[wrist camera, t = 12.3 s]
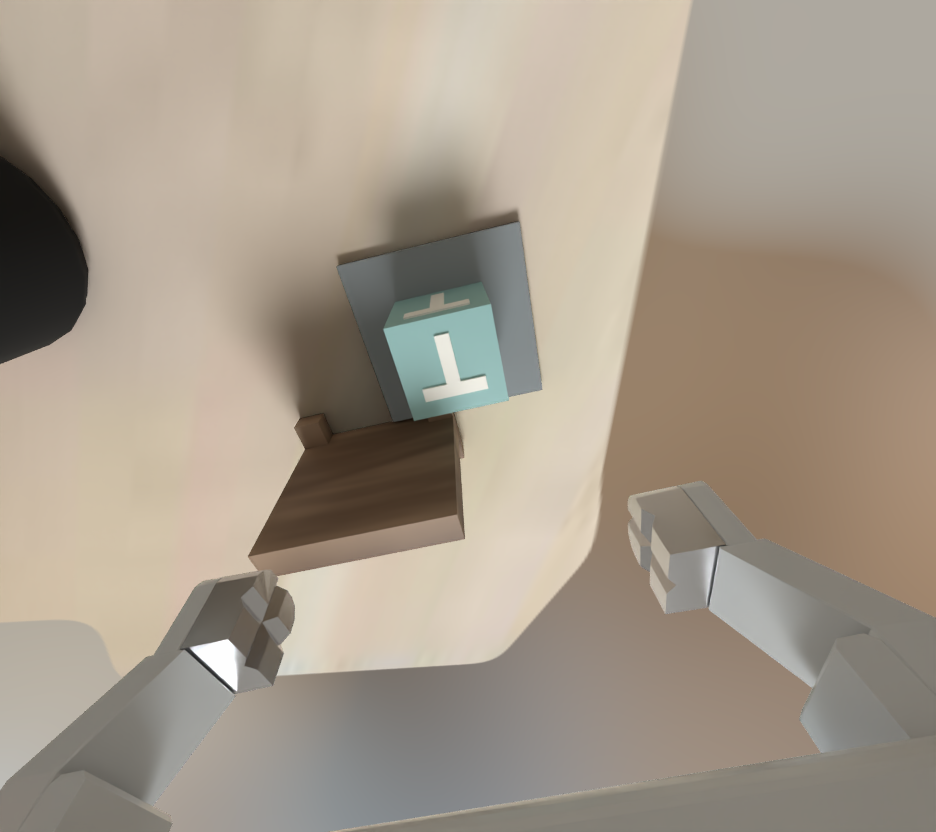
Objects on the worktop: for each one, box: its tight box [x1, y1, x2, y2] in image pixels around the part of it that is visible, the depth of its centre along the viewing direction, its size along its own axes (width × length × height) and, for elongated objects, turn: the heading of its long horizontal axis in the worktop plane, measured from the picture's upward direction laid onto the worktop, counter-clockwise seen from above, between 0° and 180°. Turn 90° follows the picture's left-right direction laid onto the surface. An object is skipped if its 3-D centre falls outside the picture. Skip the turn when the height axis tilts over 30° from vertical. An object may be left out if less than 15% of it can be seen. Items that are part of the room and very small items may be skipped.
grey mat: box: [337, 221, 542, 422], centre depth 24 cm, size 10×10×1 cm
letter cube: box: [383, 282, 509, 421], centre depth 21 cm, size 5×5×5 cm
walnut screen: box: [248, 412, 465, 576], centre depth 23 cm, size 5×10×10 cm, turn 102°
